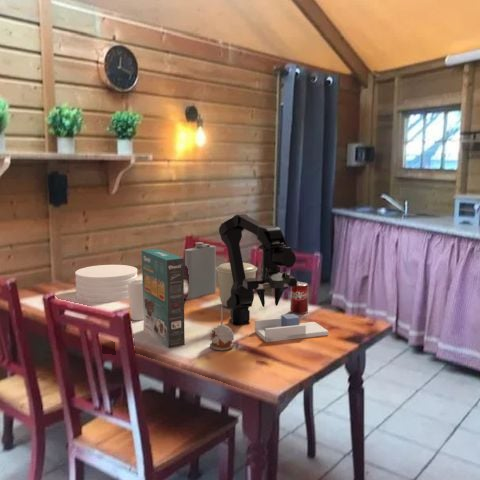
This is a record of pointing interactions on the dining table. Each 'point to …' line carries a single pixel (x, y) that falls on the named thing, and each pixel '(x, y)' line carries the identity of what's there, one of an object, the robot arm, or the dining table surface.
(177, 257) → the cake mix box
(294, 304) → the soda can
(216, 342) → the decorative ornament
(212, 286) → the flask
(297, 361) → the dining table surface
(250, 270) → the canister
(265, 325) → the trap channel
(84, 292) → the plate stack
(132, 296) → the white cylinder
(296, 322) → the blue-gray block
